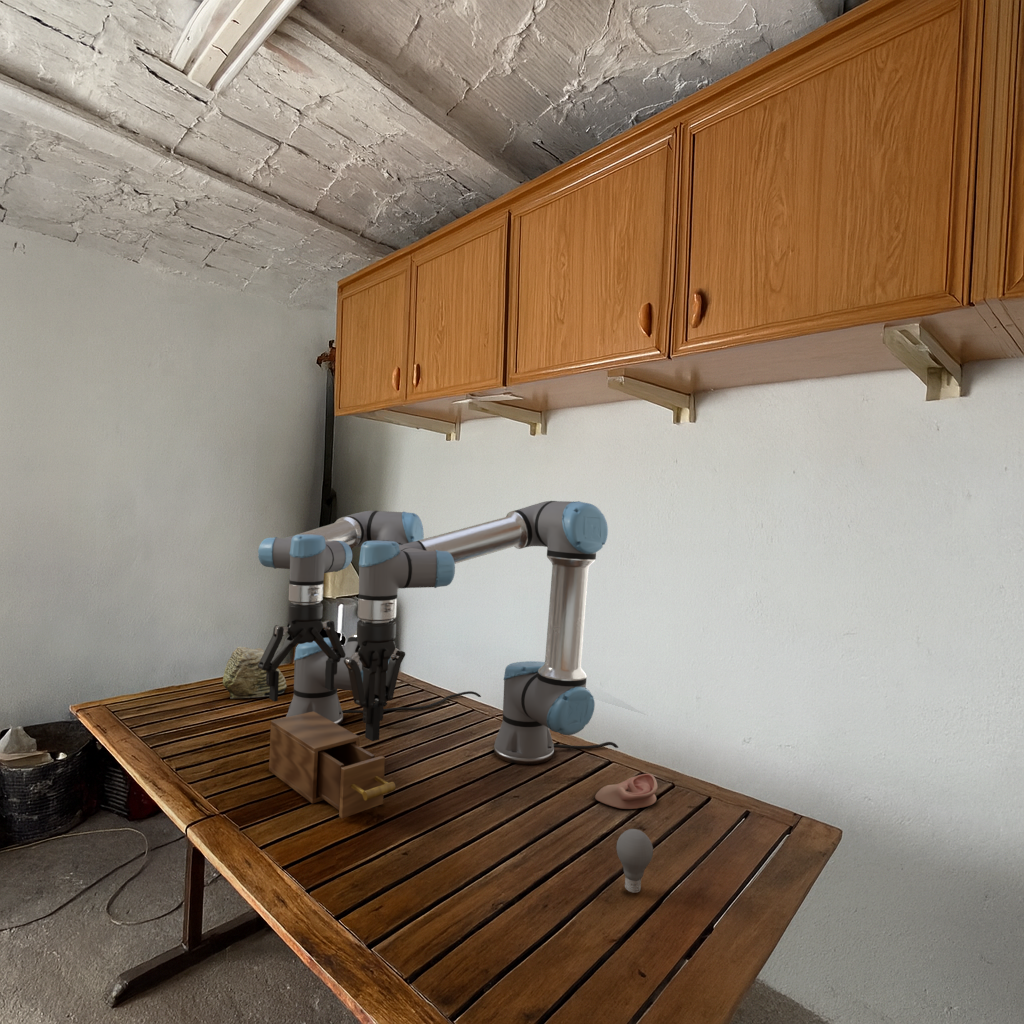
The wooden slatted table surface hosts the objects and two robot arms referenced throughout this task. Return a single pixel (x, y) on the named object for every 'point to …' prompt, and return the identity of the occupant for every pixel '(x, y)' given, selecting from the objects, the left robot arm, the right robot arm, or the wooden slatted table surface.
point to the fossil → (248, 675)
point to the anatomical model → (630, 793)
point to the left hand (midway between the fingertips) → (302, 694)
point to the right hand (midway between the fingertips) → (372, 738)
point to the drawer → (351, 779)
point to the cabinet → (303, 749)
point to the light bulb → (634, 857)
